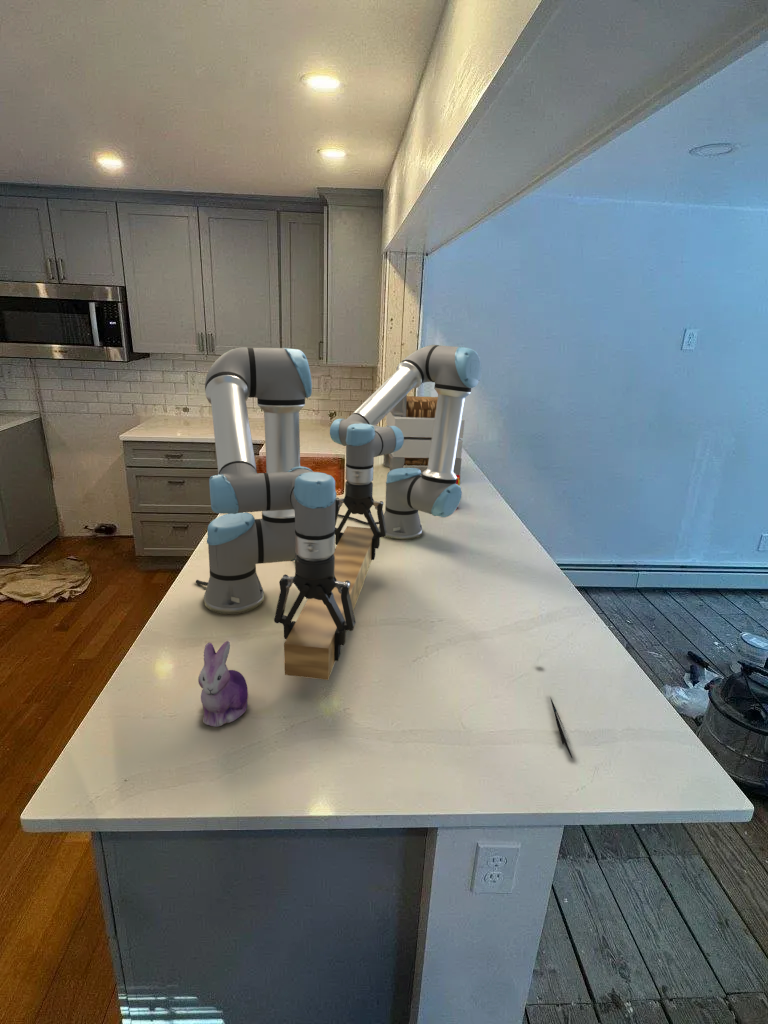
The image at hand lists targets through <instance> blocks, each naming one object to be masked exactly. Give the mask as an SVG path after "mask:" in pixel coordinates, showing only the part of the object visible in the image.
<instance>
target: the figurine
mask: <svg viewBox="0 0 768 1024" xmlns="http://www.w3.org/2000/svg"><path fill="white" fill-rule="evenodd" d="M230 649H231V643H230V641H229V640H226V641H224V642H223V643H222V645H221V646H220V647H219V649H218V650H217V651H216V650H215V647H214V645H213V643H212V642H207V643H205V646H204V649H203V666H202V668H201V670H200V672H199V675H198V685H199V687H201V689H202V690H201V692H200V702H201V705H202V708H203V718H202V722H203V724H204V725H206V726H211V727H214V728H215V727H221V726H223V725H224V724H230V723H233V722H235V721H236V720H237V719H239V718H240V717H241V716H242V715H244V714H245V713H246V711H247V708H248V698H249V691H248V684H247V683H248V682H247V680H246V679H245V676H244V675H243V674H242V673H241V672H240V671H238V670H235V669H229V668H228V667H227V660H228V657H229V653H230Z"/></svg>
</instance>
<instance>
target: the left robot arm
mask: <svg viewBox="0 0 768 1024" xmlns="http://www.w3.org/2000/svg"><path fill="white" fill-rule="evenodd" d="M312 391H313V382H312V374H311V369H310V365H309V360H308V358H307V355H306V354H305V353H304V352H303V351H302V350H301V349H297V348H288V347H247V346H245V347H244V346H243V347H242V346H241V347H235V348H233V349H230V350H228V351H226V352H224V353H223V354H221V355H220V356H219V357H218V358H217V359H216V360H215V361H214V362H213V363H212V365H211V366H210V368H209V369H208V371H207V374H206V376H205V382H204V392H205V397H206V400H207V401H208V403H209V404H210V405H211V415H212V425H213V436H214V445H215V455H216V464H217V473H218V474H215V475H211V476H210V477H209V479H208V481H209V482H208V483H209V497H210V498H209V499H210V509H211V511H212V512H213V513H215V514H222V515H220V516H218V517H216V518H213V519H212V520H211V521H210V522H209V524H208V526H207V529H206V530H207V532H206V533H207V538H206V544H207V548H208V565H209V567H208V568H209V577H208V581H202V580H199V579H195V583H196V584H198V585H201V586H206V589H205V592H204V595H203V599H204V600H203V601H204V606H205V607H206V608H207V609H208V610H209V611H211V612H213V613H217V614H222V615H237V614H244V613H247V612H250V611H252V610H254V609H257V608H258V607H259V606H261V605H262V604H263V602H264V600H265V594H264V592H265V591H264V588H263V586H262V583H261V581H260V578H259V576H258V574H257V567H256V565H259V564H260V565H261V564H270V563H271V564H272V563H282V562H283V563H284V562H294V564H295V565H294V566H295V570H294V571H295V572H294V573H295V574H294V576H289V575H288V574H283V575H282V577H280V579H279V581H278V584H279V589H280V591H279V596H278V600H277V604H276V610H275V614H274V619H273V621H274V623H276V624H281V625H282V626H283V638H284V640H286V639H287V637H288V636H289V634H290V632H291V630H292V628H293V626H294V624H295V622H296V621H297V620H293V619H294V617H295V615H296V613H297V611H298V609H299V608H300V606H301V604H302V603H303V600H304V599H306V600H308V599H313V598H314V599H317V600H322V601H323V603H324V605H326V607H327V609H328V611H329V613H330V615H331V617H332V619H333V621H334V623H335V625H336V627H337V628H336V631H335V652H334V661H335V662H339V660H340V657H341V654H342V649H341V648H342V647H343V646H345V644H346V640H347V631H349V632H352V631H353V630H354V629H355V626H356V617H355V612H354V611H353V607H352V602H351V598H350V593H349V589H350V581H348V580H347V581H345V582H341V581H337V579H336V578H335V575H334V568H335V556H334V552H335V548H336V544H335V527H336V525H335V500H336V498H337V491H336V480H335V478H334V477H333V476H332V475H331V474H327V473H326V472H320V471H313V469H311V468H309V467H307V466H302V465H301V437H300V436H301V434H300V412H301V410H302V409H303V408H304V407H305V406H306V399H308V398H310V397H311V396H312V394H313V392H312ZM249 398H254V399H255V398H256V399H257V406H258V407H259V408H260V409H261V410H262V412H263V415H264V416H263V417H264V418H263V419H264V441H265V442H264V443H265V444H264V445H265V467H266V469H265V470H266V472H259V473H258V471H257V464H256V457H255V451H254V445H253V438H252V432H251V426H250V420H249V412H248V406H247V401H248V399H249ZM255 512H261V518H256V517H254V515H253V514H252V513H255ZM293 584H294V585H295V587H296V588H297V590H298V591H299V593H298V595H297V597H296V598H295V600H294V603H293V604H292V606H291V608H290V610H289V611H288V613H287V615H285V611H286V606H287V601H288V598H289V597H288V596H289V592H290V588H291V587H292V586H293ZM335 587H336V588H337V589H338V592H339V593H340V594H341V601H342V605H343V610H344V615H345V619H346V621H345V619H344V617H343V615H342V613H341V611H340V609H339V607H338V605H337V603H336V601H335V599H334V595H333V593H332V590H333V589H334V588H335Z"/></svg>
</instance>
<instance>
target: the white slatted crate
mask: <svg viewBox="0 0 768 1024" xmlns="http://www.w3.org/2000/svg"><path fill="white" fill-rule="evenodd" d="M437 399H438V396H415V395H414V396H413V395H412V396H411V395H408V394H407V395H406V396H405V397H404V398H403V399H402V400H401V401H400V402H399V403H398V404H397V405H396V406H395V407H394V408H393V409H392V410H391V411H390V412H389V413H388V414H387V415H386V416H385V423H386V426H396V427H398V428H399V429H400V430H401V431H402V433H403V437H404V442H403V445H402V447H401V449H399V450H398V451H395V452H393V453H391V454H385V455H383V466H384V467H388V468H389V471H391V470H394V469H398V468H405V466H406V467H407V466H411V467H412V466H413V467H415V466H416V467H417V466H418V467H428V460H429V454H430V447H431V440H432V433H433V426H434V420H435V413H436V406H437ZM464 429H465V419H464V418H462V420H461V426H460V433H459V439H458V445H457V452H456V458H455V464H454V471H453V472H454V473H455V474H456V475H460V476H461V472H462V461H463V460H462V453H463V442H464V441H463V440H462V439H463V438H464V431H465V430H464Z"/></svg>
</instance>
